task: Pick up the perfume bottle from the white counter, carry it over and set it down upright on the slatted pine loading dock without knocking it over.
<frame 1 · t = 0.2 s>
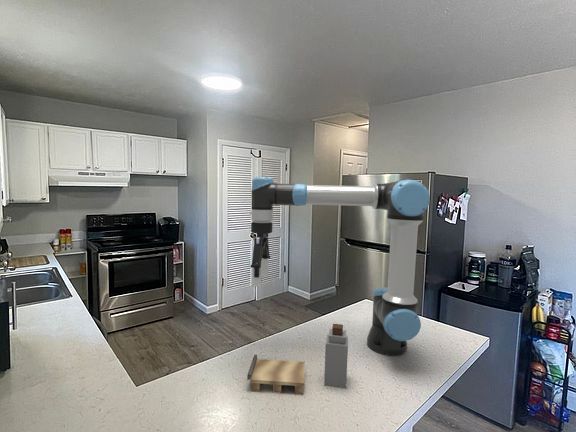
hand: (260, 281, 115), 28 cm above the table, fingers open, 13 cm apart
dock: (278, 380, 102), on the table
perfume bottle: (335, 381, 103), on the table
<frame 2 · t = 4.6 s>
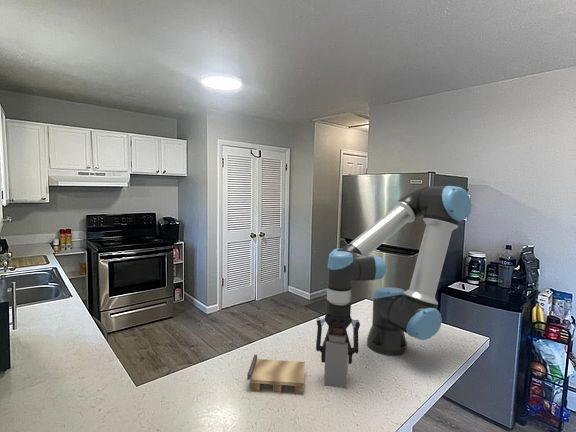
hand: (336, 372, 102), 3 cm above the table, fingers closed on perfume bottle, 6 cm apart
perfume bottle: (335, 381, 103), on the table, touching gripper
when the fingers open (8 cm above the table, at t = 9.7 s): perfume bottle drops 1 cm, resting on dock.
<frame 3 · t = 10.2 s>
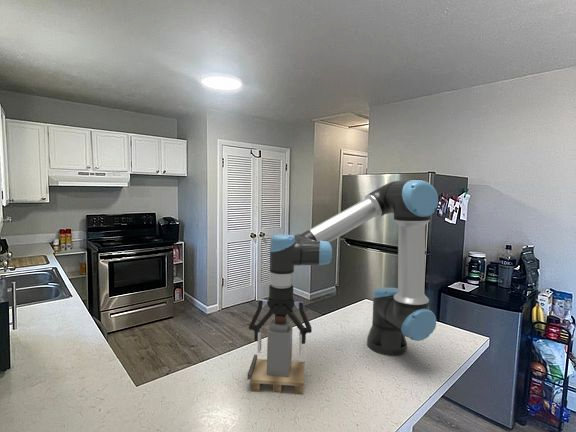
hand: (279, 352, 101), 9 cm above the table, fingers open, 12 cm apart
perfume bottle: (279, 370, 102), point 3 cm above the table, touching dock
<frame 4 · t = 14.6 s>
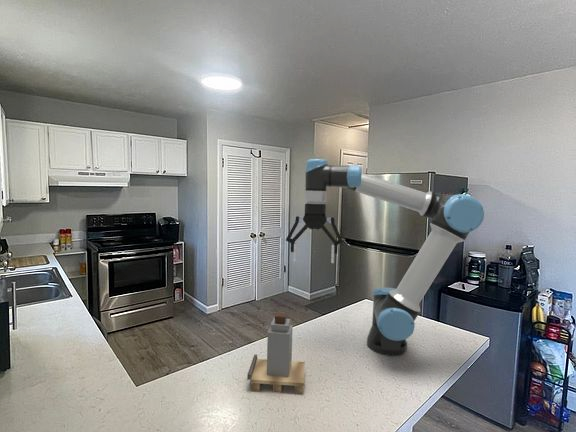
hand: (313, 261, 117), 35 cm above the table, fingers open, 13 cm apart
nothing on the table moved.
at the end: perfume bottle inside the target area on the dock (0.1 cm from its centre), point 3.3 cm above the dock's base; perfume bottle tilted 0°; the gripper is holding nothing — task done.
